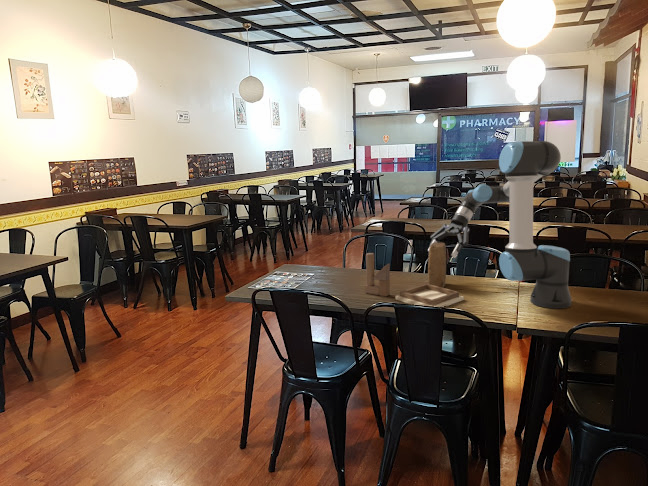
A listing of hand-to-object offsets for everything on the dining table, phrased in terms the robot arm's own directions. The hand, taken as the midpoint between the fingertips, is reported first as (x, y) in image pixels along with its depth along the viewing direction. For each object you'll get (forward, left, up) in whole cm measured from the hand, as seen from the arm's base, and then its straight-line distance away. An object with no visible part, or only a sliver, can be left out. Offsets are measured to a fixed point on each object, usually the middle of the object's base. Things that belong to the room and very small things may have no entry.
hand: (440, 254), depth 227 cm
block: (-1, +4, -14) cm, 15 cm away
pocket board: (-12, +23, -14) cm, 29 cm away
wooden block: (+9, +33, -14) cm, 37 cm away
